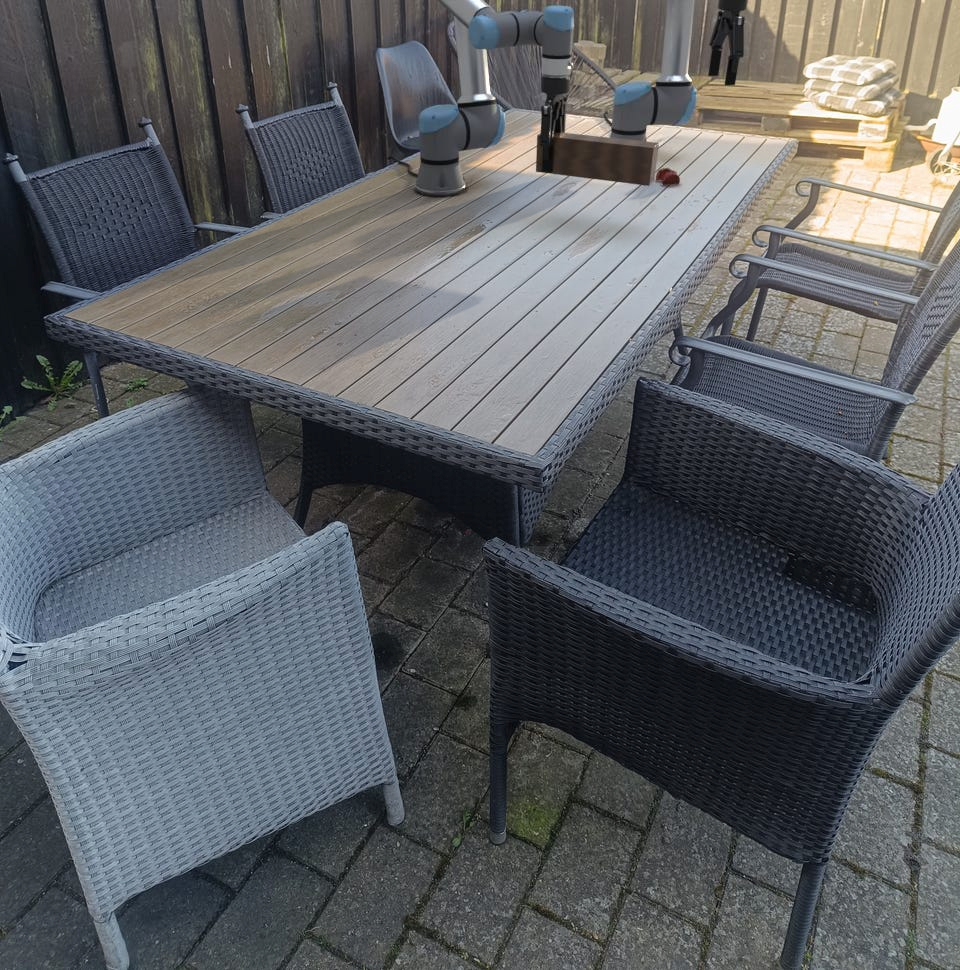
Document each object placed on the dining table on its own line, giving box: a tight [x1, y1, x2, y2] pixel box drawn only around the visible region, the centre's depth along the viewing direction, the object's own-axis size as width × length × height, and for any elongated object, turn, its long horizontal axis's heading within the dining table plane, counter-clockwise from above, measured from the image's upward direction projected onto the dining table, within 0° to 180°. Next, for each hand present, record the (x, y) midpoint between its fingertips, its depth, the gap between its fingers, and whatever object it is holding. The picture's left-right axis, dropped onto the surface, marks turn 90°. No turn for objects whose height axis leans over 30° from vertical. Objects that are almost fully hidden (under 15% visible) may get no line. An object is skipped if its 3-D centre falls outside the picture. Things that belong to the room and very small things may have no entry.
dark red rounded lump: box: [655, 167, 681, 186], centre depth 263 cm, size 6×4×8 cm
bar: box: [535, 132, 660, 187], centre depth 223 cm, size 32×6×10 cm, turn 66°
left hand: (551, 168), depth 229 cm, fingers closed on bar, 5 cm apart
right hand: (721, 80), depth 236 cm, fingers open, 13 cm apart
